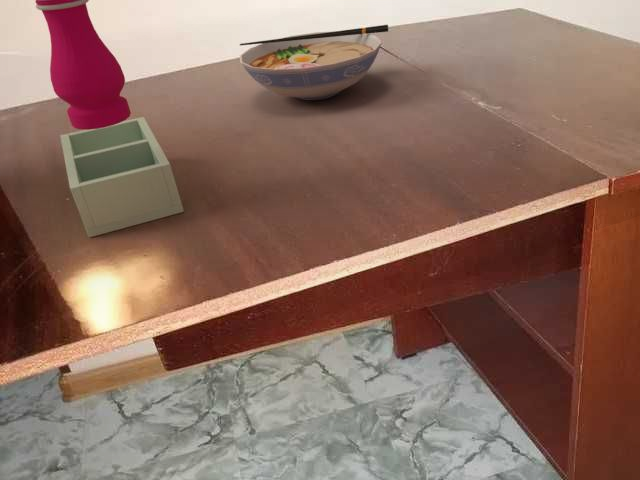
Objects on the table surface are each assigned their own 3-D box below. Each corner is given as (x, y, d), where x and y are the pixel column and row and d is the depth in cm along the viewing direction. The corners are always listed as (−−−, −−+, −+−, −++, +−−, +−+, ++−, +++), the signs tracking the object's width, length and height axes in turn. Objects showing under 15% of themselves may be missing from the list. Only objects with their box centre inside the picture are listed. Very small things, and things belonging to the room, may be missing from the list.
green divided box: (88, 238, 77) (69, 188, 74) (76, 178, 93) (60, 135, 90) (184, 211, 81) (169, 163, 78) (156, 158, 96) (143, 116, 93)
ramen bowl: (229, 124, 106) (216, 70, 102) (254, 80, 125) (244, 33, 121) (393, 109, 106) (387, 54, 101) (392, 67, 125) (388, 20, 121)
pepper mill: (149, 111, 79) (90, -87, 68) (100, 134, 73) (28, -78, 63) (103, 107, 82) (39, -84, 71) (52, 129, 76) (-24, -74, 66)
